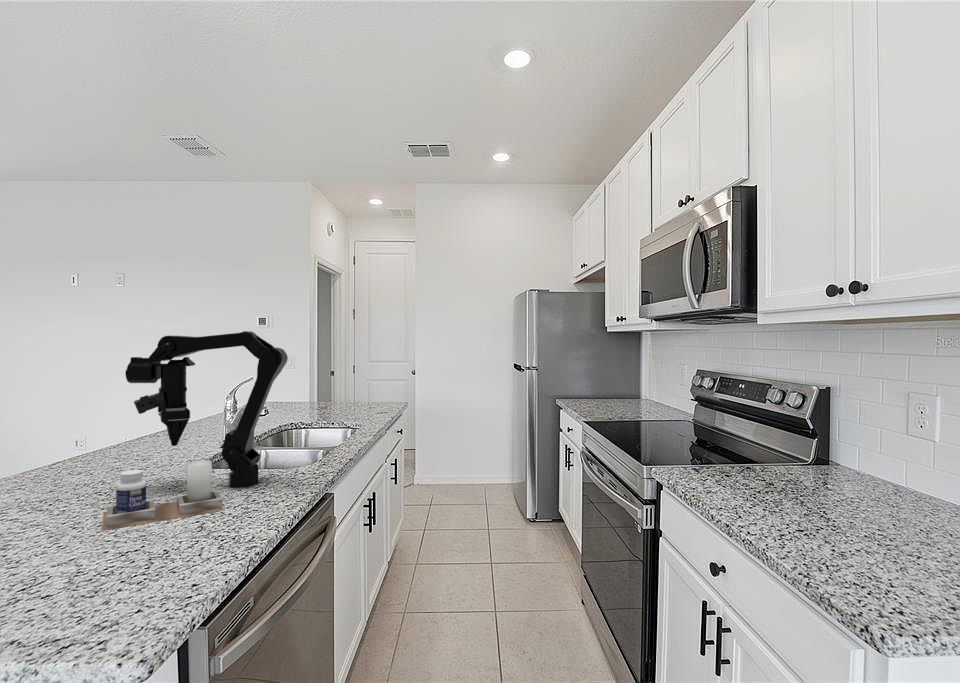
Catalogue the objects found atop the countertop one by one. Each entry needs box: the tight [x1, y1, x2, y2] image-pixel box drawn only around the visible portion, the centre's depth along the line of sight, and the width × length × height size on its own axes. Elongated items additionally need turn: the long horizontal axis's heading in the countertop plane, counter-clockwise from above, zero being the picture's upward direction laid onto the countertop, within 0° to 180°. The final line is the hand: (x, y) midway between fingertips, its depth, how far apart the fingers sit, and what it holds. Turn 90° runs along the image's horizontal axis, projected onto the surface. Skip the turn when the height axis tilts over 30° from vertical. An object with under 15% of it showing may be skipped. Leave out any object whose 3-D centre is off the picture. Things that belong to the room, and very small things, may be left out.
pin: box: [186, 459, 213, 503], centre depth 117 cm, size 5×5×10 cm
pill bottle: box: [115, 469, 147, 514], centre depth 109 cm, size 5×5×10 cm
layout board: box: [100, 489, 223, 532], centre depth 113 cm, size 22×13×4 cm, turn 125°
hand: (173, 442), depth 131 cm, fingers open, 9 cm apart
